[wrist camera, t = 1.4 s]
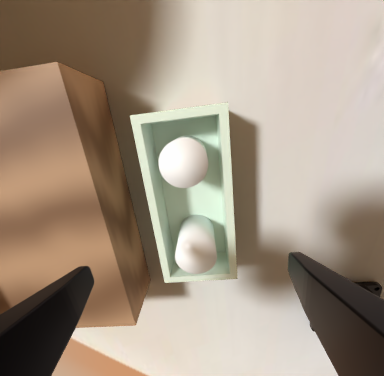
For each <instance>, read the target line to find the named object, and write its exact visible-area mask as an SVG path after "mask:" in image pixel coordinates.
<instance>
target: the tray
mask: <svg viewBox="0 0 384 376" xmlns="http://www.w3.org/2000/svg"><path fill="white" fill-rule="evenodd" d="M130 120H131V125H132V129H133V134H134V139H135V144H136V148H137V153H138V158H139V163H140V168H141V172H142V177H143V182H144V187H145V191H146V196H147V201H148V206H149V211H150V215H151V220H152V225H153V230H154V235H155V239H156V244H157V249H158V254H159V258H160V263H161V268H162V273H163V278H164V282H165V283H172V282H190V281H207V280H225V279H237V261H236V242H235V224H234V205H233V186H232V167H231V148H230V130H229V111H228V102H226V103H219V104H211V105H204V106H196V107H189V108H182V109H174V110H167V111H159V112H152V113H144V114H137V115H130Z"/></svg>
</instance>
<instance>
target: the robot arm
mask: <svg viewBox="0 0 384 376" xmlns="http://www.w3.org/2000/svg"><path fill="white" fill-rule="evenodd" d="M288 272H289V275H290V277H291V280H292V282H293V285H294V287H295V290H296V292H297V294H298V297H299V299H300V302H301V304H302V307H303V309H304V311H305V313H306V315H307V317H308V319H309V321H310V327H311V329H312V330H313V331H315V332H316V334H317V336H318V338H319V340H320V342H321V343H322V345H323V347H324V349H325V351H326V353H327V355H328V357H329V359H330V360H331V362H332V364H333V366H334V368H335V370H336V372H337V374H338V376H384V300H383V299H381V298H380V295H381V291H382V286H381V285H379V284H378V283H377V282H365V283H353V282H352V281H350V280H348V279H346V278H345V277H343V276H341V275H339V274H337V273H336V272H334V271H332V270H330V269H329V268H327V267H325V266H323V265H322V264H320V263H318V262H316V261H315V260H313V259H311V258H309V257H308V256H306V255H304V254H302V253H301V252H291V253H289V257H288ZM93 286H94V277H93V275H92V272H91V269H90V267H89V266H80V267H77V268H76V269H74V270H72V271H71V272H69V273H68V274H66V275H64V276H63V277H61V278H59V279H58V280H56V281H54V282H53V283H51V284H49V285H48V286H46V287H45V288H43V289H41V290H40V291H38V292H36V293H35V294H33V295H31V296H30V297H28V298H26V299H25V300H23V301H22V302H20V303H18V304H17V305H15V306H13V307H12V308H10V309H8V310H7V311H5V312H3V313H2V314H0V376H51V375H52V373H53V371H54V369H55V367H56V365H57V363H58V361H59V360H60V358H61V355H62V354H63V352H64V350H65V348H66V346H67V344H68V342H69V340H70V338H71V336H72V334H73V332H74V330H75V328H76V326H77V324H78V322H79V320H80V317H81V315H82V313H83V310H84V308H85V305H86V303H87V301H88V298H89V296H90V293H91V291H92V288H93Z"/></svg>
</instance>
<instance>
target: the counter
mask: <svg viewBox="0 0 384 376" xmlns="http://www.w3.org/2000/svg"><path fill="white" fill-rule="evenodd" d="M80 266H89V267H90V269H91V272H92V275H93V277H94V286H93V288H92V291H91V293H90V296H89V298H88V301H87V303H86V305H85V308H84V310H83V313H82V315H81V317H80V320H79V322H78V324H77V326H76V328H82V327H107V326H133V325H136V323H137V320H138V317H139V314H140V311H141V308H142V305H143V302H144V298H145V295H146V292H147V289H148V286H149V283H150V277H149V272H148V268H147V264H146V260H145V256H144V251H143V247H142V243H141V239H140V235H139V230H138V226H137V222H136V218H135V214H134V209H133V205H132V201H131V197H130V193H129V188H128V184H127V180H126V176H125V172H124V168H123V163H122V159H121V155H120V151H119V147H118V142H117V138H116V134H115V130H114V126H113V121H112V117H111V113H110V109H109V105H108V100H107V96H106V92H105V88H104V84H103V82H102V81H100V80H98V79H95V78H93V77H91V76H88V75H86V74H84V73H82V72H79V71H77V70H75V69H73V68H70V67H68V66H66V65H63V64H61V63H59V62H52V63H46V64H40V65H34V66H28V67H22V68H16V69H9V70H3V71H0V314H2V313H3V312H5V311H7V310H8V309H10V308H12V307H13V306H15V305H17V304H18V303H20V302H22V301H23V300H25V299H26V298H28V297H30V296H31V295H33V294H35V293H36V292H38V291H40V290H41V289H43V288H45V287H46V286H48V285H49V284H51V283H53V282H54V281H56V280H58V279H59V278H61V277H63V276H64V275H66V274H68V273H69V272H71V271H72V270H74V269H76V268H77V267H80Z"/></svg>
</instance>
